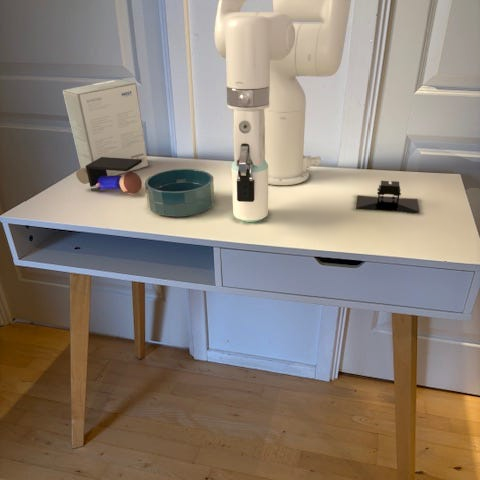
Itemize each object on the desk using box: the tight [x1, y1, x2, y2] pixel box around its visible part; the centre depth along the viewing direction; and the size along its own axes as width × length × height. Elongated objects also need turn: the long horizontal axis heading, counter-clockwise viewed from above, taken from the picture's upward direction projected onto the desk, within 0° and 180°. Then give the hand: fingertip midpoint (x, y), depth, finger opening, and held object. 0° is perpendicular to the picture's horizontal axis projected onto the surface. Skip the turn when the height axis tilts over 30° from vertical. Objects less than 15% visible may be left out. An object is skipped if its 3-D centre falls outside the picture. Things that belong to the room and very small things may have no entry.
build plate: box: [355, 180, 420, 215], centre depth 101 cm, size 12×7×5 cm, turn 76°
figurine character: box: [75, 157, 143, 195], centre depth 112 cm, size 7×8×15 cm
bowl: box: [144, 168, 216, 217], centre depth 104 cm, size 14×14×6 cm
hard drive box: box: [62, 78, 149, 176], centre depth 120 cm, size 16×8×20 cm, turn 133°
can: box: [231, 156, 269, 223], centre depth 97 cm, size 7×7×12 cm
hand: (249, 192), depth 96 cm, fingers open, 9 cm apart
